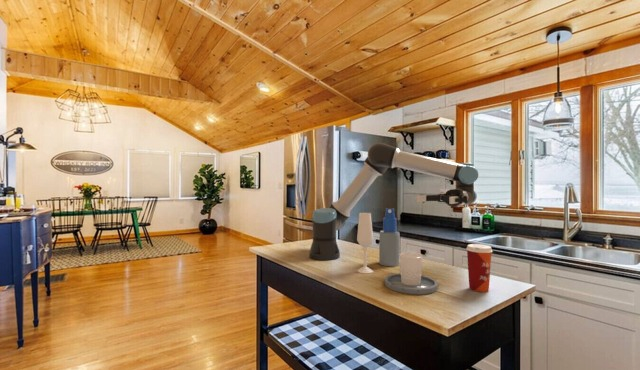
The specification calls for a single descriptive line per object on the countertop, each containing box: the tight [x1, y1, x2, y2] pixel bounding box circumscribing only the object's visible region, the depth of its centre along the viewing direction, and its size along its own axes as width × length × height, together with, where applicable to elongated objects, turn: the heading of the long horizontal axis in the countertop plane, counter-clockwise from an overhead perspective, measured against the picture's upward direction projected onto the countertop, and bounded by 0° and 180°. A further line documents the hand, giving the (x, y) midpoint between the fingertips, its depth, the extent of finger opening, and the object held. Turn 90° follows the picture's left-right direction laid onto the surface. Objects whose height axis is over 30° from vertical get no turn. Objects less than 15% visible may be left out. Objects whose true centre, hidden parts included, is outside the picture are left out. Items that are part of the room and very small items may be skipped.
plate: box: [384, 272, 439, 296], centre depth 113 cm, size 18×18×2 cm
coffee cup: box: [466, 243, 494, 293], centre depth 110 cm, size 8×8×15 cm
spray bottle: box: [378, 207, 401, 267], centre depth 143 cm, size 9×9×25 cm
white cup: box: [399, 252, 424, 286], centre depth 113 cm, size 8×8×10 cm
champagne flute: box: [356, 212, 374, 274], centre depth 132 cm, size 7×7×24 cm
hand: (433, 199), depth 126 cm, fingers open, 13 cm apart
